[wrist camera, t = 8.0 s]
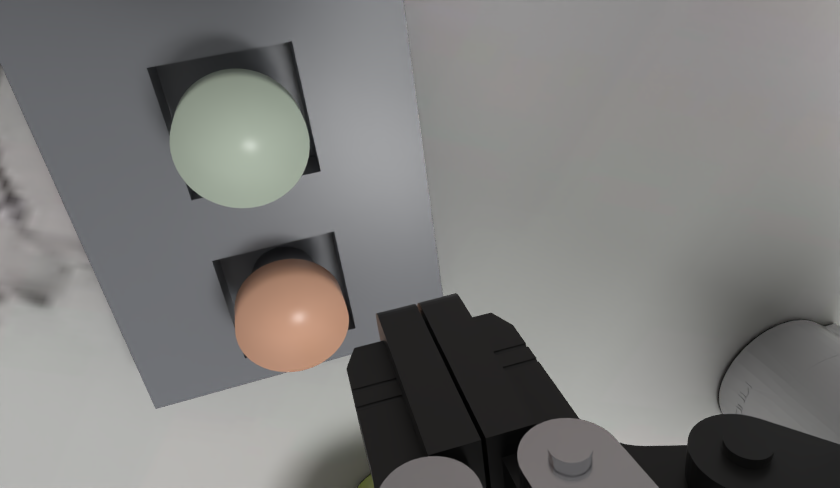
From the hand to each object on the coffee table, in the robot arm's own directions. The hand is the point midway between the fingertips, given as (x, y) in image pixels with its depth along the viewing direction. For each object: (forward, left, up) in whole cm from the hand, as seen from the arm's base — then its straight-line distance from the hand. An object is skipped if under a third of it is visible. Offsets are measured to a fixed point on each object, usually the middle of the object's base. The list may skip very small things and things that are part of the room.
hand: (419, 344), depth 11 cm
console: (+3, -1, -18) cm, 19 cm away
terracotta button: (+3, +7, -17) cm, 19 cm away
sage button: (+3, -1, -17) cm, 17 cm away
